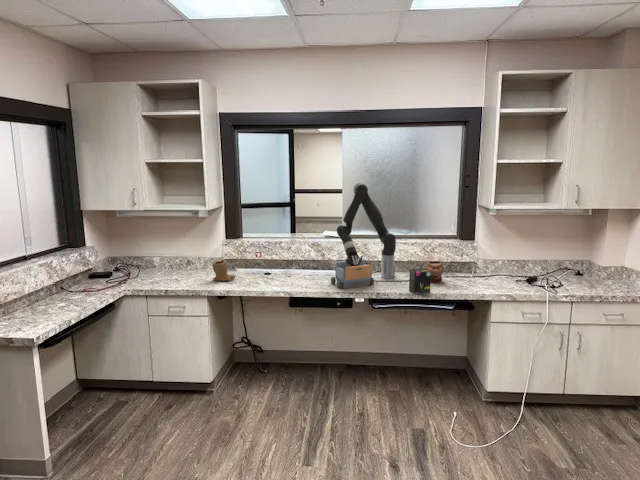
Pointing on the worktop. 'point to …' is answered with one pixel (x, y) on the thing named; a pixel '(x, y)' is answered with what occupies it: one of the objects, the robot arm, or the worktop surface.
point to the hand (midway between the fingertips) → (357, 270)
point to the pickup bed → (349, 283)
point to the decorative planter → (435, 271)
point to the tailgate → (358, 272)
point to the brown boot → (221, 271)
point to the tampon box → (420, 281)
